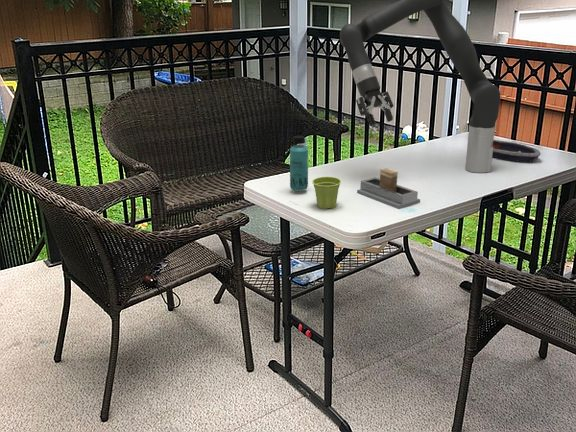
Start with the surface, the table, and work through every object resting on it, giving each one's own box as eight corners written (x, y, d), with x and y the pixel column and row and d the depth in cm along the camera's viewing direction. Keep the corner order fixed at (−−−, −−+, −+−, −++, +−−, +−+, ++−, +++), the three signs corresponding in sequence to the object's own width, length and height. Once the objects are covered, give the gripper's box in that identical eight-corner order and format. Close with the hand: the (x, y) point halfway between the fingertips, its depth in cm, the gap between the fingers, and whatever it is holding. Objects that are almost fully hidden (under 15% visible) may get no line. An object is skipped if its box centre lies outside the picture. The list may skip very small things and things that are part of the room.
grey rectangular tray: (377, 186, 213) (378, 176, 212) (420, 202, 198) (420, 190, 197) (357, 192, 208) (357, 182, 207) (398, 209, 193) (399, 197, 191)
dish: (526, 167, 232) (528, 155, 230) (461, 151, 255) (462, 140, 253) (547, 160, 241) (549, 148, 239) (482, 145, 264) (483, 134, 262)
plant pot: (332, 213, 191) (332, 187, 188) (307, 207, 195) (306, 182, 192) (345, 204, 198) (346, 179, 195) (320, 199, 203) (321, 175, 200)
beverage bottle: (289, 189, 213) (288, 134, 206) (307, 188, 214) (307, 133, 206) (290, 195, 207) (289, 139, 200) (309, 194, 208) (309, 138, 200)
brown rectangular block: (385, 191, 206) (386, 168, 202) (396, 195, 202) (397, 171, 199) (379, 193, 204) (380, 169, 201) (389, 197, 200) (391, 173, 197)
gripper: (357, 78, 202) (374, 122, 202) (387, 72, 210) (403, 115, 209) (344, 87, 209) (360, 130, 208) (373, 81, 216) (389, 123, 216)
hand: (382, 123), depth 209 cm, fingers open, 8 cm apart
